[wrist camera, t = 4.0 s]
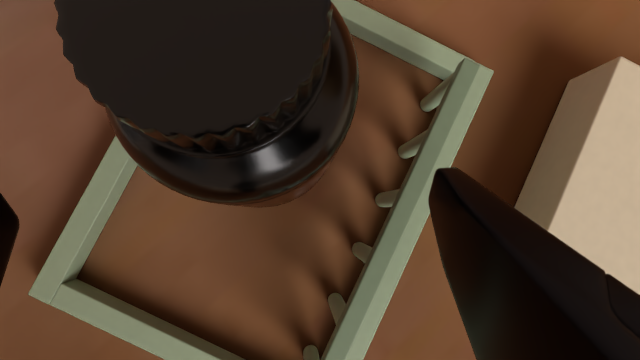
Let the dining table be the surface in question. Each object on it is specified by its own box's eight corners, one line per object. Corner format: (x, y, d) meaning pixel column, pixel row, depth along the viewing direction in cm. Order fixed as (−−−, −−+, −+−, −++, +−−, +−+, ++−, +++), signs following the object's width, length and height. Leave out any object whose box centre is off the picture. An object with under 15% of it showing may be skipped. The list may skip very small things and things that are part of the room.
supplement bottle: (304, 47, 19) (318, -228, 7) (354, 177, 19) (458, 119, 7) (168, 94, 18) (-65, -120, 7) (217, 229, 18) (66, 266, 6)
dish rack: (326, 422, 18) (336, 496, 13) (45, 289, 17) (-44, 317, 13) (482, 79, 19) (540, 39, 15) (230, -49, 19) (209, -130, 15)
